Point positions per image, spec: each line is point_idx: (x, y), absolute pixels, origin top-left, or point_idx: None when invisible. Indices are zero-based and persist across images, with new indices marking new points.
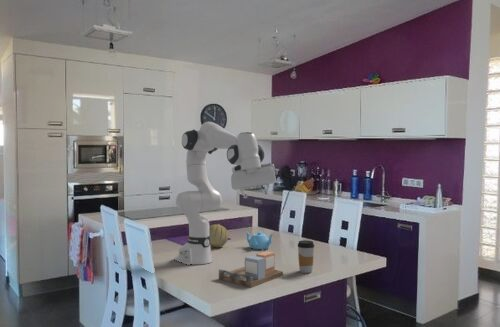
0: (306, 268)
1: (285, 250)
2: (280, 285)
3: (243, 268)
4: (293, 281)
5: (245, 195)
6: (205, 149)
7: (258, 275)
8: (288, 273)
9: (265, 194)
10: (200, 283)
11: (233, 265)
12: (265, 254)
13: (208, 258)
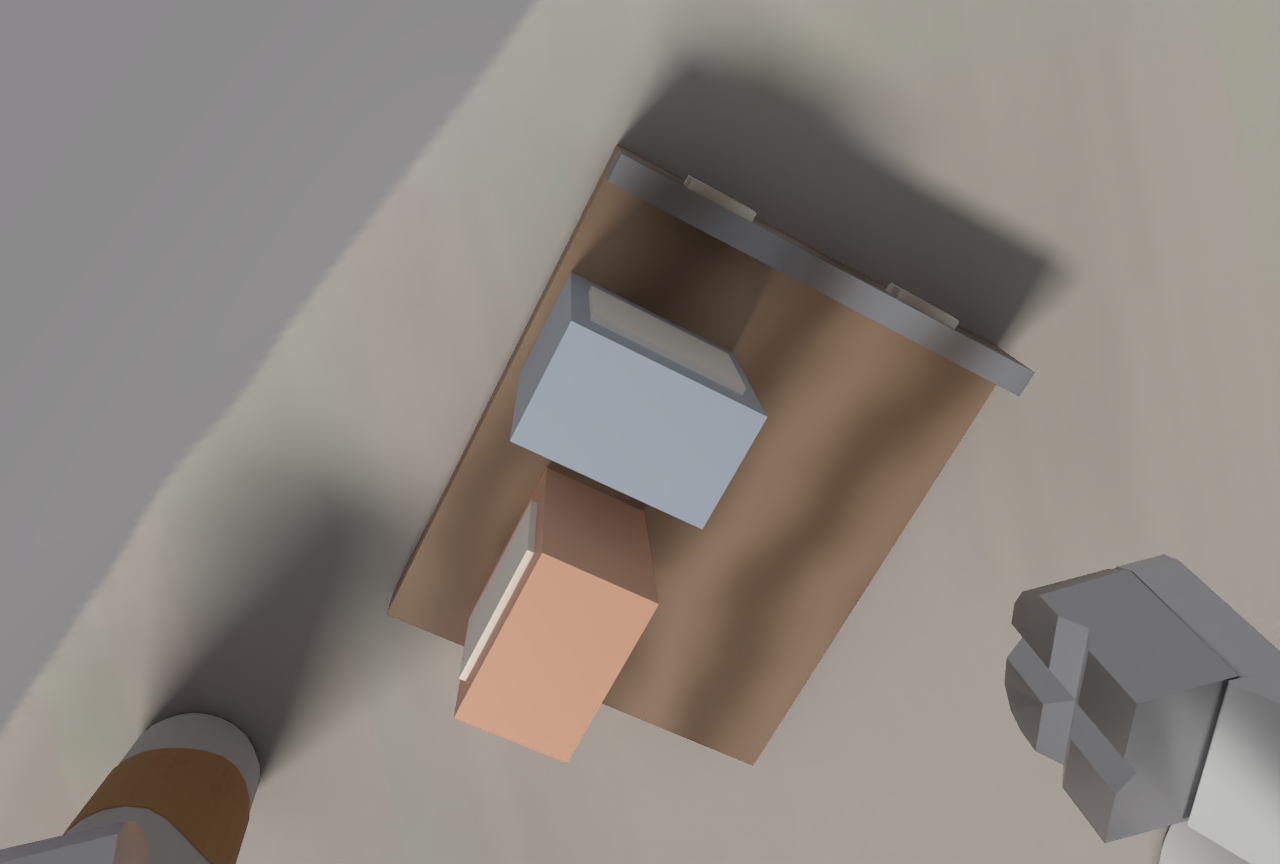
0: (163, 735)
1: None
2: (342, 275)
3: (802, 623)
4: (245, 431)
5: (1140, 631)
6: None
7: (569, 282)
8: (353, 669)
9: (101, 831)
10: (1153, 165)
11: (933, 797)
12: (543, 609)
13: (1211, 843)
